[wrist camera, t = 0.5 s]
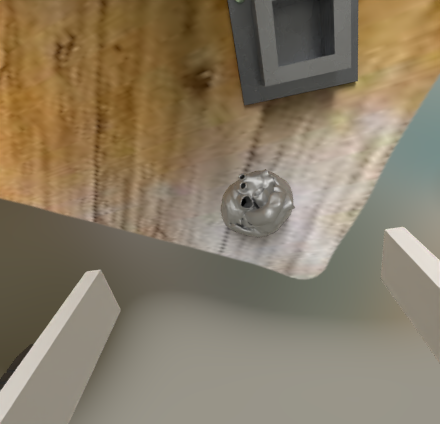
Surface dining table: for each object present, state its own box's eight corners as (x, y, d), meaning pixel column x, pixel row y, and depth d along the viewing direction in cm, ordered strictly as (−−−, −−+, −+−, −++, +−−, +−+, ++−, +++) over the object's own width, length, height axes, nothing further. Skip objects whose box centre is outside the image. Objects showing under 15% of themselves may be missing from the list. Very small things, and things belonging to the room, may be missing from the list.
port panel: (224, -17, 29) (223, -33, 24) (356, -53, 27) (380, -78, 23) (244, 104, 34) (245, 109, 29) (355, 80, 32) (375, 82, 28)
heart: (200, 194, 39) (204, 250, 29) (241, 139, 35) (263, 182, 25) (254, 225, 43) (275, 284, 33) (297, 178, 39) (334, 229, 29)
